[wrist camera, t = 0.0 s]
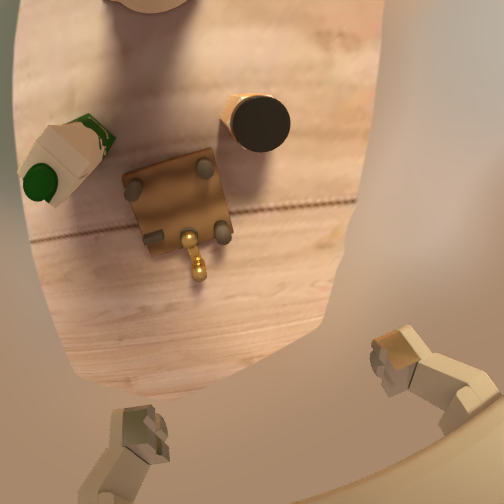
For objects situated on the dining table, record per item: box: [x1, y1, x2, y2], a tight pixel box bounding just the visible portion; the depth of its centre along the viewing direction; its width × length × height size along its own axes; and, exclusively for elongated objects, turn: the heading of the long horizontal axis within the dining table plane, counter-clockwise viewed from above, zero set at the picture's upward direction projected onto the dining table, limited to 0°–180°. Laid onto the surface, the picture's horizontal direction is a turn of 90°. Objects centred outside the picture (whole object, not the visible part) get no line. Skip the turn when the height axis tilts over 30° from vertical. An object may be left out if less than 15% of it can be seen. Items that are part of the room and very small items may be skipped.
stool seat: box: [121, 148, 234, 257], centre depth 53 cm, size 16×16×7 cm
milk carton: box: [17, 113, 116, 208], centre depth 38 cm, size 9×9×20 cm
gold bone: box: [181, 230, 207, 282], centre depth 56 cm, size 9×3×4 cm, turn 12°
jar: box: [220, 93, 290, 152], centre depth 45 cm, size 9×8×12 cm
